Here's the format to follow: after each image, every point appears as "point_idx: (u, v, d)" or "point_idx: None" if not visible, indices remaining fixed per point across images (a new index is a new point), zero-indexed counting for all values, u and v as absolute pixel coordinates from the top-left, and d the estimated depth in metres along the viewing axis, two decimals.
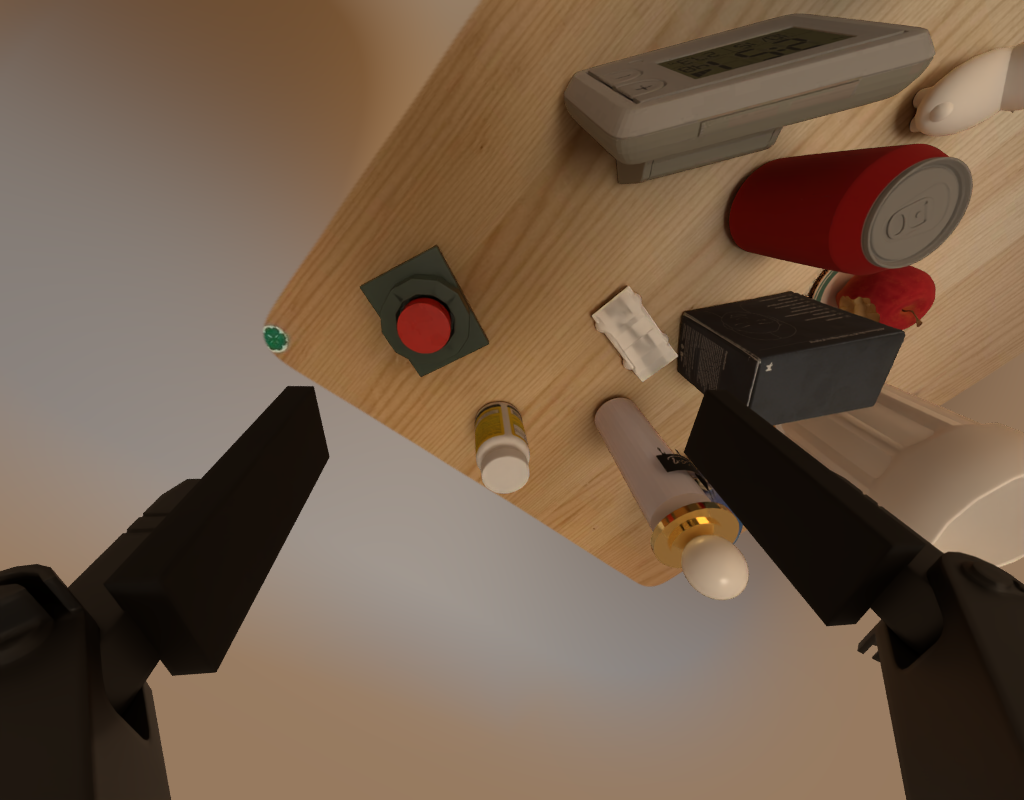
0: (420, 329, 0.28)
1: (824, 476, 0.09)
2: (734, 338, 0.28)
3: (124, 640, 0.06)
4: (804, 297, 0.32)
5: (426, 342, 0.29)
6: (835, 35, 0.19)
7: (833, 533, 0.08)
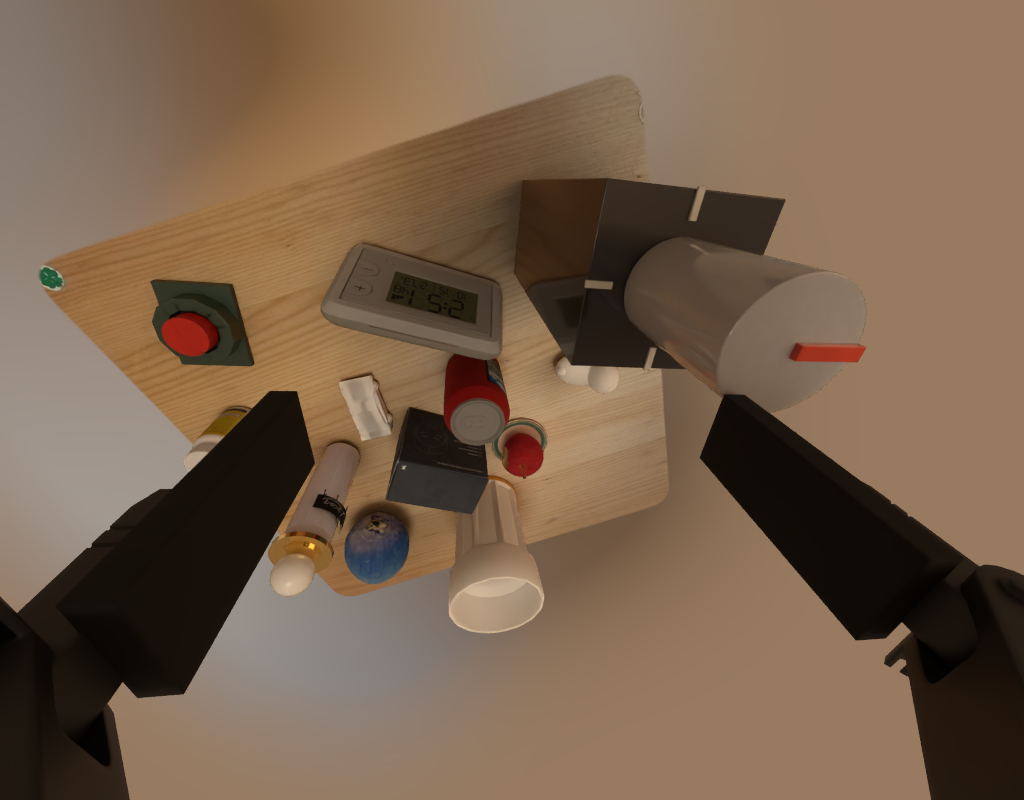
0: (182, 336, 0.36)
1: (852, 486, 0.09)
2: (406, 440, 0.42)
3: (80, 664, 0.06)
4: None
5: (184, 346, 0.37)
6: (474, 316, 0.35)
7: (863, 545, 0.08)
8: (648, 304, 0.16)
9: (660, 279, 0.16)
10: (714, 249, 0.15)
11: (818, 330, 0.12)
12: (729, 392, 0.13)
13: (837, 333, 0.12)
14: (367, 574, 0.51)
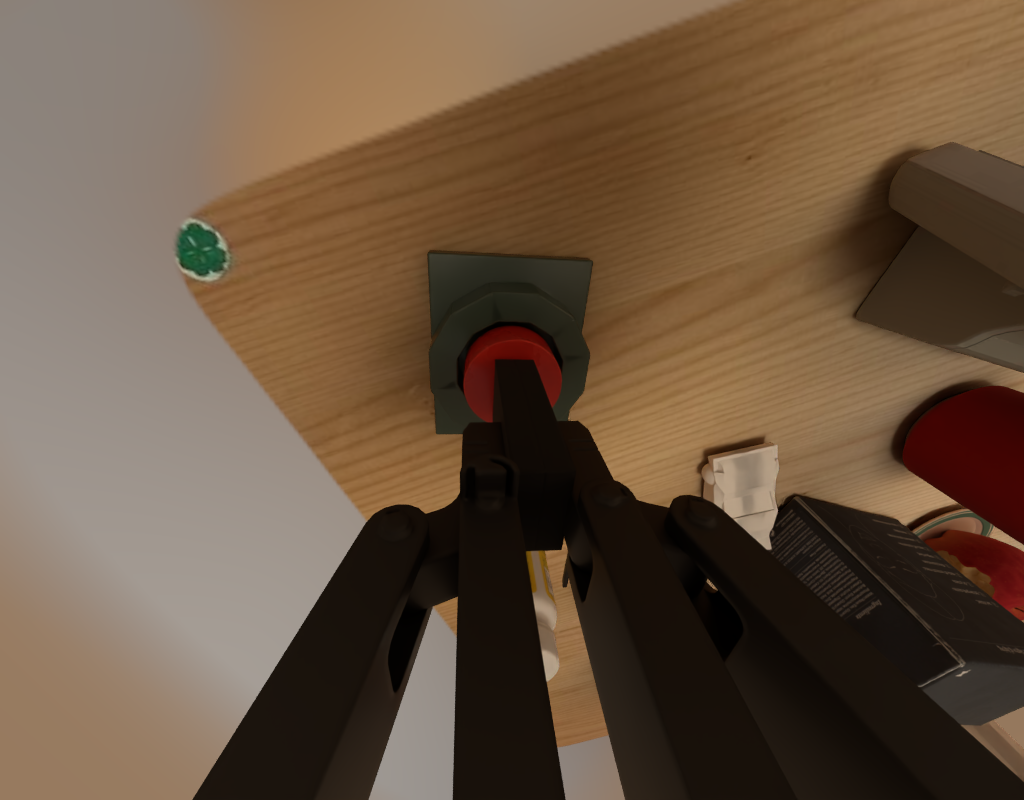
0: None
1: (544, 423, 0.10)
2: (897, 589, 0.20)
3: None
4: (919, 539, 0.26)
5: None
6: None
7: None
8: None
9: None
10: None
11: None
12: None
13: None
14: None
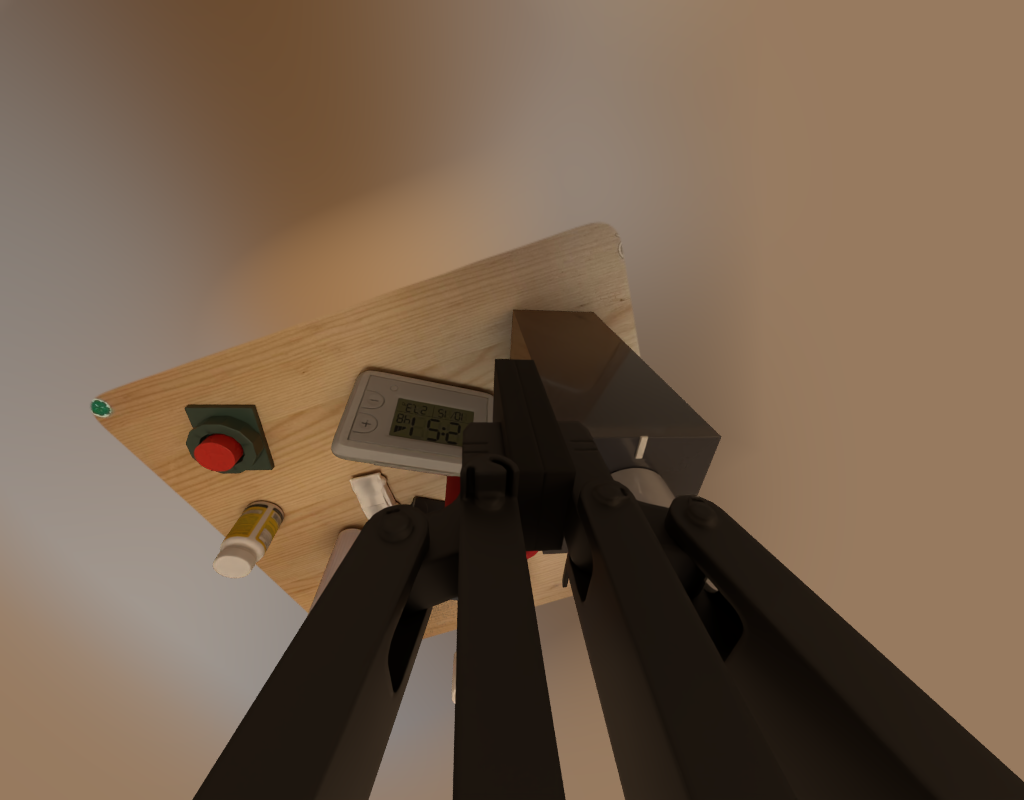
0: (212, 456, 0.41)
1: (544, 423, 0.10)
2: None
3: None
4: None
5: (213, 464, 0.41)
6: None
7: None
8: None
9: None
10: None
11: None
12: None
13: None
14: None
